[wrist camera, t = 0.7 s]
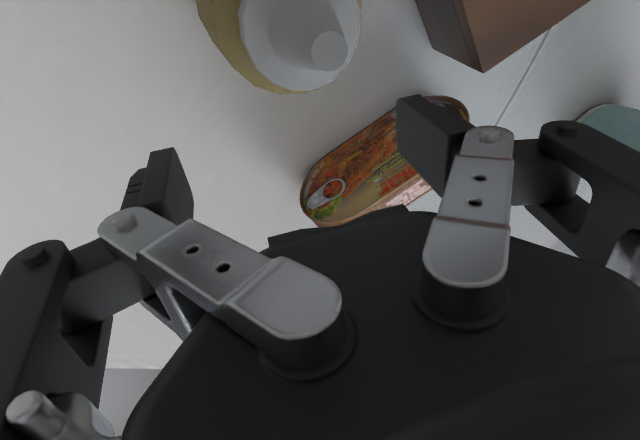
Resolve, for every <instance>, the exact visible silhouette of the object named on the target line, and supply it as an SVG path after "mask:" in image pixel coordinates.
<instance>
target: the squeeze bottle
mask: <svg viewBox="0 0 640 440" xmlns="http://www.w3.org/2000/svg"><path fill="white" fill-rule="evenodd" d="M196 2H197V9H198V15H199V17H200V19H201V21H202V22H203V24H204V26H205V28H206V30H207V32H208V34H209V35H210V37H211V39H212V41H213V42H214V44H215V45H216V46H217V48H218V49H219V50H220V51H221V53H222V54H223V55H224V57H225V58H226V59H227V60H228V62H229V63H230V64H231V66H232V67H233V68H234V69H236V70H237V71H238V72H239V73H240V74H241V75H243V76H244V77H245V78H246V79H247V80H248V81H249V82H251V83H252V84H253V85H254V86H257V87H260V88H263V89H265V90H268V91H271V92H274V93H277V94H293V93H306V92H308V91H310V90H315V89H317V88H319V87H321V86H323V85H325V84H327V83H329V82H331V81H333V80H335V79H336V78H337V77H338V76H339V74H340V73H341V72H342V71H343V70H344V69H345V68H346V67H347V66H348V65H349V63H350V62H351V59H352V57H353V55H354V52H355V50H356V47H357V45H358V43H359V40H360V24H361V0H196Z"/></svg>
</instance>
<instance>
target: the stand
mask: <svg viewBox="0 0 640 440" xmlns="http://www.w3.org/2000/svg"><path fill="white" fill-rule="evenodd" d="M415 1H416V3H417V6H418V9H419V12H420V14H421V17H422V20H423V22H424V25H425V28H426V30H427V33H428V36H429V39H430V41H431V44H432V47H433V49H434V50H437V51H439V52H441V53H443V54H445V55H447V56H449V57H451V58H453V59H455V60H457V61H459V62H461V63H463V64H465V65H467V66H469V67H471V68H474V69H475V70H477V71H479V72H481V73H485V72H486V71H488V70H489V69H491V68H492V67H494V66H495V65H497V64H498V63H499V62H501V61H502V60H504V59H505V58H507V57H508V56H510V55H511V54H513V53H514V52H516V51H517V50H519V49H520V48H521V47H523V46H524V45H526V44H527V43H529V42H530V41H532V40H533V39H535V38H536V37H538V36H539V35H541V34H542V33H544V32H545V31H546V30H548V29H549V28H551V27H552V26H554V25H555V24H557V23H558V22H560V21H561V20H563V19H564V18H566V17H567V16H568V15H570V14H571V13H573V12H574V11H576V10H577V9H579V8H580V7H582V6H583V5H585V4H586V3H588V2H589V1H591V0H415Z"/></svg>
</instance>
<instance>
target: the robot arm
mask: <svg viewBox="0 0 640 440" xmlns="http://www.w3.org/2000/svg"><path fill="white" fill-rule="evenodd" d="M396 141H397V147H398V150H399V153H400V154H401V156H402V157H403V158H404V159H405V160H406V161H407V162H408V163H409V164H410V165H411V166H412V167H413V168H414V170H415V171H416V172H417V173H418V174H419V175H420V176H421V177H422V178H423V179H424V180H425V181H426V182H427V183H428V184H429V185H430V186H431V187H432V189H433V190H434V191H435V192H436V193H437V194H438V195H439V196H440V197H441V198H442V200H441V203H440V207H439V210H438V213H434V212H425V211H410V212H409V211H408V209H407V208H406V207H405V205H404V204H399V205H395V206H391V207H387V208H383V209H379V210H375V211H371V212H369V213H367V214H364V215H362V216H360V217H358V218H356V219H353V220H351V221H349V222H347V223H344V224H342V225H339V226H331V227H319V228H308V229H300V230H296V231H292V232H288V233H284V234H280V235H276V236H272V237H268V243H269V248H267V249H265V250H263V251H261V252H257V251H255V250H253V249H251V248H249V247H247V246H245V245H243V244H241V243H239V242H237V241H235V240H233V239H231V238H229V237H227V236H225V235H223V234H221V233H219V232H217V231H215V230H213V229H211V228H209V227H207V226H205V225H203V224H201V223H199V222H197V221H195V220H193V210H194V201H193V196H192V192H191V189H190V186H189V183H188V181H187V178H186V175H185V173H184V170H183V168H182V165H181V162H180V160H179V157H178V155H177V152H176V150H175V149H174V148H173V147H171V148H167V149H162V150H158V151H153V152H151V153H150V156H149V160H148V164H147V168H142V169H139V170H138V171H137V172H136V173H135V174H134V175H133V176H132V177H131V178H130V180H129V184H128V188H127V190H126V193H125V194H126V195H125V196H124V199H123V203H122V206H121V209H120V211H118V212H116V213H114V214H112V215H110V216H109V217H107V218H106V219H105V220H104V221H102V223H101V224H100V225H99V227H98V234H99V236H100V237H99V238H98V239H96V240H94V241H92V242H89V243H87V244H85V245H82V246H80V247H77V248H75V249H73V250H70V251H69V250H68V248H67V247H66V245H65V244H64V243H63V242H62V241H60V240H47V241H43V242H39V243H36V244H34V245H32V246H29V247H27V248H25V249H24V250H22V251H20V252H19V253H17V254H16V255H15V256H14V257H13V258H11V259H10V261H9V262H8V263H7V264H6V266H5V268H4V270H3V272H2V273H1V275H0V440H640V152H639V151H637V150H635V149H633V148H631V147H629V146H627V145H625V144H623V143H621V142H619V141H617V140H615V139H614V138H612V137H610V136H608V135H606V134H604V133H602V132H600V131H598V130H596V129H594V128H592V127H590V126H588V125H586V124H583V123H580V122H575V121H552V122H548V123H546V124H544V125H543V126H542V127H541V131H540V135H539V139H526V140H514V134H513V133H512V132H511V131H510V130H508V129H505V128H502V127H497V126H479V127H475V126H474V125H472V124H471V123H469V122H467V121H466V120H464V119H463V118H462V119H461V117H460V116H458V115H457V114H455V113H454V112H452V111H451V110H449V109H448V108H446V107H443V106H439V105H436V104H433V103H431V102H430V101H428V100H427V99H425V98H424V97H422V96H421V95H419V94H417V95H413V96H408V97H403V98H399V99H398V100H397V104H396ZM581 177H582V178H583V179H585V180H586V181H587V182H588V183H589V184H590V186H591V188H592V199H591V202H590V204H589V203H588V202H586V201H585V200H583V199H582V198H581V197H579V196H578V195H577V194H575V193H576V190H577V187H578V184H579V181H580V178H581ZM517 205H524V207H525V208H526V209H527V210H528V211H529V212H530V213H531V214H532V215H533V216H534V217H535V218H536V219H537V220H539V221H540V222H541V223H542V224H543V225H544V226H545V227H546V228H547V229H548V230H550V231H551V232H552V233H553V234H554V235H555V236H556V237H557V238H558V239H559V240H560V241H562V242H563V243H564V244H565V245H566V246H567V247H568V248H569V249H570V250H571V251H573V252H574V253H575V254H576V255H577V256H578V257H579V258H577V257H574V256H571V255H568V254H565V253H562V252H559V251H556V250H552V249H549V248H546V247H543V246H540V245H537V244H534V243H531V242H528V241H525V240H521V239H518V238H515V237H512V236H510V227H509V221H510V209H511V206H517ZM137 302H140V304H141V305H142V306H143V307H145V308H146V309H147V310H148V311H149V312H151V313H152V314H153V315H154V316H156V317H157V318H158V319H159V320H160V321H162V322H163V323H164V324H165V325H167V326H168V327H169V328H170V329H171V330H173V331H174V332H175V333H176V334H177V335H178V336H179V337H180V338H181V339H182V341H183V343H182V344H181V346H180V347H179V348H178V349H177V351H176V352H175V353H174V355H173V356H172V357H171V359H170V360H169V361H168V363H167V364H166V365H165V367H164V368H163V369H162V371H161V372H160V373H159V374H158V376H157V377H156V378H155V380H154V381H153V382H152V384H151V385H150V386H149V388H148V389H147V390H146V392H145V393H144V394H143V396H142V397H141V398H140V400H139V401H138V403H137V404H136V406H135V408H134V409H133V411H132V413H131V415H130V417H129V418H128V420H127V423H126V426H125V428H124V430H123V434H122V436H117V437H115V431H114V428H113V426H112V424H111V423H110V422H109V421H108V420H107V419H106V418H105V417H104V416H103V415H102V414H101V413H100V412H99V410H98V408H99V402H100V395H101V389H102V383H103V377H104V371H105V365H106V359H107V353H108V346H109V340H110V334H111V328H112V322H113V314H115V313H117V312H119V311H121V310H123V309H125V308H127V307H129V306H131V305H133V304H135V303H137Z"/></svg>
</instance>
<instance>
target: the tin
mask: <svg viewBox="0 0 640 440" xmlns="http://www.w3.org/2000/svg"><path fill="white" fill-rule="evenodd" d="M424 98H425V99H427V100H428V101H430V102H431V103H433V104H436V105H439V106H443V107H446V108H448V109H449V110H451V111H452V112H454V113H455V114H457V115H458V116H460V117H461V119H462V118H463V119H464V120H466V121H467V122H469V113H468V111H467V109H466V107H465V106H464V105H463V104H462V103H461V102H460V101H458V100H456V99H454V98H452V97H448V96H426V97H424ZM469 123H470V122H469ZM430 190H432V187H431V186H430V185H429V184H428V183H427V182H426V181H425V180H424V179H423V178H422V177H421V176H420V175H419V174H418V173H417V172H416V171H415V170H414V168H413V167H412V166H411V165H410V164H409V163H408V162H407V161H406V160H405V159H404V158H403V157H402V156H401V154H400V153H399V150H398V147H397V141H396V108H395V109H393V110H391V111H390V112H389V113H387V114H386V115H384V116H383V117H381V118H380V119H379V120H377V121H376V122H374V123H373V124H371V125H370V126H368V127H367V128H366V129H364V130H363V131H361V132H360V133H358V134H357V135H355V136H354V137H353V138H351V139H350V140H348V141H347V142H345V143H344V144H342V145H341V146H339V147H338V148H337V149H335V150H334V151H332V152H331V153H329V154H328V155H326V156H325V157H324V158H322V159H321V160H320V161H319V162H318V163H317V164H316V165H315V166H314V167H313V168H312V169H311V171H310V172H309V173H308V175H307V177H306V178H305V180H304V182H303V185H302V188H301V191H300V205H301V208H302V210H303V212H304V213H305V214H306V216H308V217H309V218H310V219H311V220H312V221H313V222H314V223H315V224H316V225H317V226H318V227H331V226H339V225H342V224H344V223H347V222H349V221H351V220H353V219H356V218H358V217H360V216H362V215H364V214H367V213H369V212H371V211H375V210H379V209H383V208H387V207H391V206H395V205H399V204H404V205H405V207H406V206H407V205H409V204H410V203H412V202H413V201H415V200H416V199H418V198H419V197H421V196H422V195H424V194H425V193H427V192H429V191H430Z"/></svg>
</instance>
